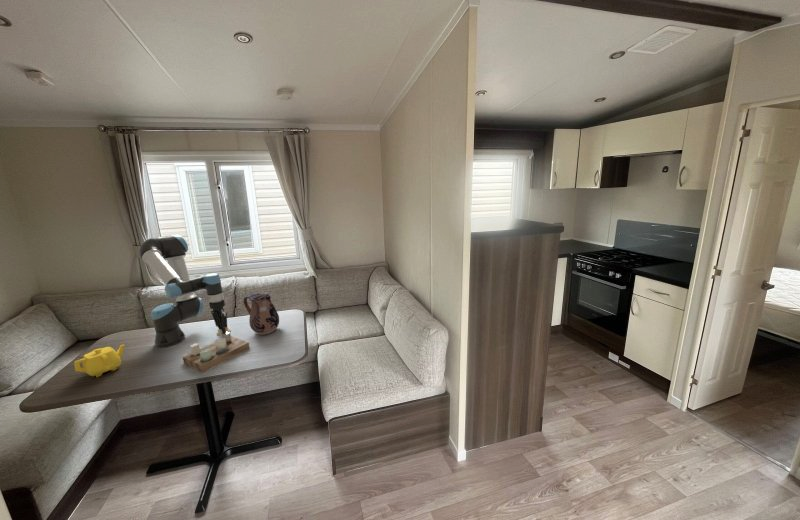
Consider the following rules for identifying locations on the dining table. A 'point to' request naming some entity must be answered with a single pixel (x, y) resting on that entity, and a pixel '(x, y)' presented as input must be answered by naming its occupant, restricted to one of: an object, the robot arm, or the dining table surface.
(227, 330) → the hand bell
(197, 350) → the slider ivory
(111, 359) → the teapot
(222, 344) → the button ivory
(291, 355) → the dining table surface
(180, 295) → the robot arm
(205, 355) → the button sage
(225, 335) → the slider aluminium
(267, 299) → the ceramic pitcher
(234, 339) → the console
